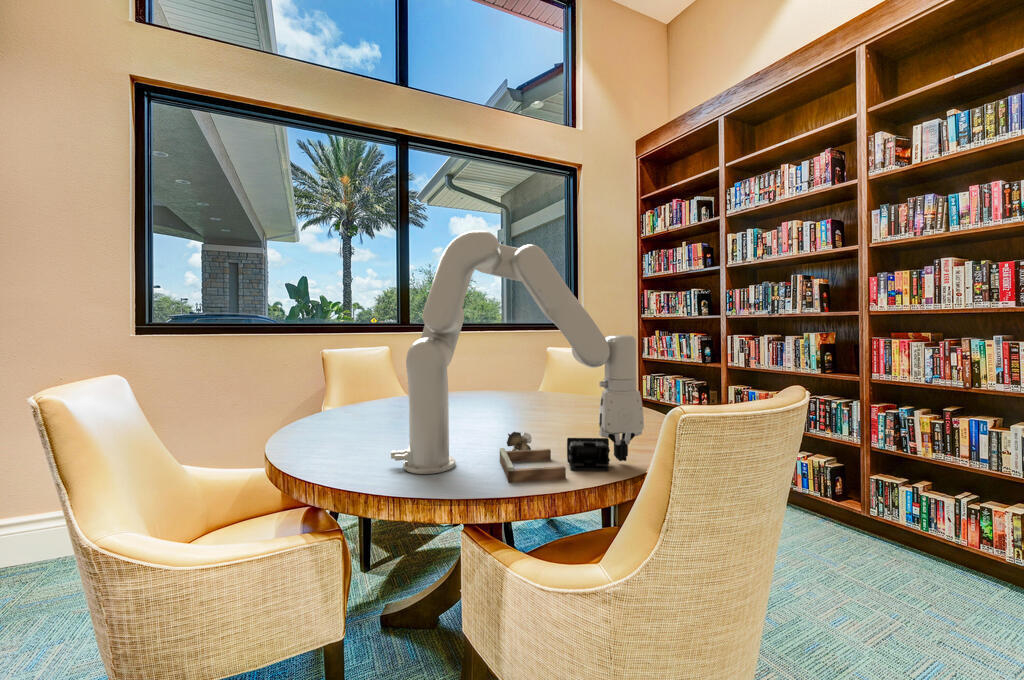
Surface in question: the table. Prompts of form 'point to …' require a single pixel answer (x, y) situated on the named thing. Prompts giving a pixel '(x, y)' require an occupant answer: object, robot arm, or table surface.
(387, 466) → the table surface
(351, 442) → the table surface
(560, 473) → the wooden tray
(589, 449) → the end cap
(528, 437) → the squirrel figurine
